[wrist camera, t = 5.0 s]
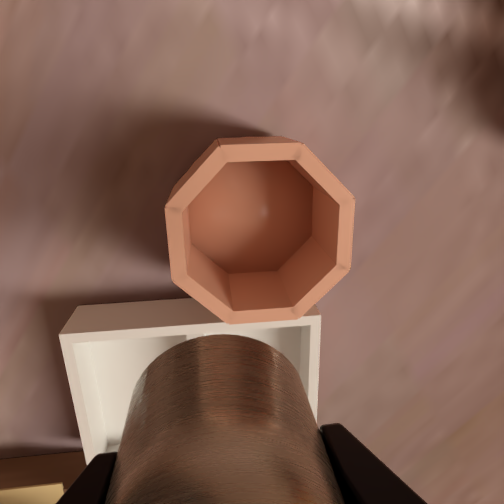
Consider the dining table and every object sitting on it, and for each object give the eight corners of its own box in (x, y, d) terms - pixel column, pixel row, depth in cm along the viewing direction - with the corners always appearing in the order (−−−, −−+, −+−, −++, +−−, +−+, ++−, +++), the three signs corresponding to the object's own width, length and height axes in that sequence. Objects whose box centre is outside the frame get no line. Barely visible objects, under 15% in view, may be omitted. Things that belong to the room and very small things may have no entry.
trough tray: (303, 421, 24) (315, 459, 22) (103, 442, 23) (90, 484, 21) (307, 290, 21) (321, 315, 19) (77, 305, 20) (58, 334, 18)
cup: (318, 274, 21) (347, 315, 17) (182, 282, 20) (176, 328, 16) (323, 134, 19) (359, 140, 14) (169, 138, 18) (158, 146, 14)
